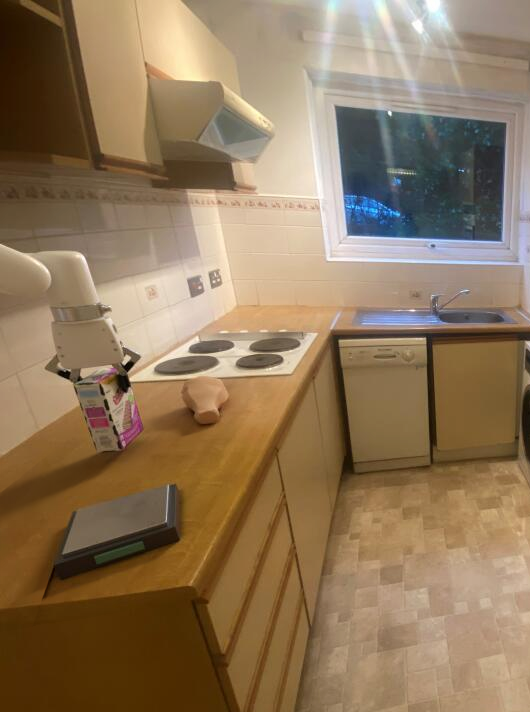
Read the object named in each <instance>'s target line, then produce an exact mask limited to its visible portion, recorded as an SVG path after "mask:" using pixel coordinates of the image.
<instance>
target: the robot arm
mask: <svg viewBox="0 0 530 712" xmlns="http://www.w3.org/2000/svg"><path fill="white" fill-rule="evenodd" d="M0 293H1V294H4V295H9V296H12V297H18V298H32V297H37V296H39V295H42V294H44V296H45V299H46V301H47V304H48V307H49V310H50V312H51V315H52V317H53V320H52V321H51V323H50V329H51V335H52V339H53V344H54V348H55V352H56V353H55V355H54V356H53V357H52V358H51V360H50V361H49V362H47V364H46V365H45V366H44V370H45V371H47V372H50V373H52V374H54V375H57V376H59V377H60V378H64V379H65V380H68V381H69V382H70V383H73V384H75V383H76V382H78V381H80V380H82V379H84V378H83V377H82V376H81V372H82V369H90V368H98V367H105V366H112V368H115V369H116V370H117V371H118V372H119V376H118V379H119V382H120V385H121V388H122V391H123V393H127V392H128V389H129V387H131V388H132V383H131V381H130V377H129V374H128V373H129V372H130V371H131V370H132V368H133V367H134V366H135V365H136V364H137V363H138V362H139V361H140V360H141V358H142V354H141V353H140V352H138V351H136V350H133V349H132V348H129V347H128V346H126V345H124V344H123V341H122V338H121V336H120V334H119V331H118V329H117V327H116V325H115V322H114V321H113V319H112V318H111V317H110V316H109V315H105V314H107V313H112V311H113V309H112V307H111V305H106V304H102V302H100V298H99V295H98V292H97V290H96V286H95V283H94V279H93V277H92V274H91V271H90V268H89V265H88V261H87V259H86V258H85V256H84V255H83V254H82V253H81V252H79V251H75V250H45V251H38V252H22V251H19V250H16V249H14V248H11V247H9V246H6V245H4V244H2V243H0ZM127 356H128V357H130V359H128V361H126V363H125V364H124V363H123V362H124V360H125V358H126V357H127ZM58 364H60V366H61V367H60V366H59V365H58ZM73 384H72V385H73Z"/></svg>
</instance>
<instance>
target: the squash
mask: <svg viewBox="0 0 530 712" xmlns="http://www.w3.org/2000/svg"><path fill="white" fill-rule="evenodd" d="M181 395H182V396H181V399H182V401H183V402H184V404H185V406H186V407H187V408H188V409H189V410H192V411H193V412H194V414H193V417H194V420H195V421H196V422H197V423H198V424H200V425H207V424H208V425H209V424H215V423H218V422H219V419H220V416H221V414H220V412H219V410H220V409H221V408H223V407H224V406H225V403H226V402H227V401H228V398H229V396H230V394H229V393H228V390H227V388H226V386H225V385H224V382H223V380H222V379H220V378H216V377H212V376H208V375H198V376H196V377H193V378H191V379H188V380H186V381H185V382H184V384H183V387H182V390H181Z"/></svg>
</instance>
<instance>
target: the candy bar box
mask: <svg viewBox="0 0 530 712" xmlns="http://www.w3.org/2000/svg"><path fill="white" fill-rule="evenodd" d="M118 376H119V372H118V371H117V370H116V369H115V368H114V367H105V368H102V367H101V368H99V369H98V370H96V371H94V372H92V373H91V374H89V375H88V376H85V377H84V378H83V379H82V380H80V381H78V382H76V383H75V384H72V386H73V390H74V392H75V395H76V398H77V401H78V403H79V406H80V409H81V412H82V415H83V417H84V420H85V423H86V426H87V428H88V431H89V435H90V437H91V441H92V442H93V445H94V449H95V451H96V454H107V453H118V452H123V451H124V450H125V449H126V448H127V447H128V446H129V445H130V444H131V443H132V442H133V441H134V440H135V439H136V438H137V437H138V436H139V435H140V434H141V433H142V432H143V431H144V430H145V428H144V424H143V422H142V418H141V416H140V412H139V409H138V406H137V402H136V399H135V396H134V395H135V394H134V392H133V388H132V386H131V387H129V389H128V392H127V393H123V391H122V388H121V385H120V382H119V379H118Z"/></svg>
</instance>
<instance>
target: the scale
mask: <svg viewBox="0 0 530 712" xmlns="http://www.w3.org/2000/svg"><path fill="white" fill-rule="evenodd" d="M168 485H169V487H170V489H169V509H168V525H167V526H164V527H161V528H158V529H155V530H151V531H148V532H145V533H142V534H139V535H135V536H132V537H129V538H126V539H123V540H120V541H116V542H113V543H110V544H107V545H104V546H100V547H97V548H94V549H91V550H88V551H84V552H81V553H78V554H75V555H72V556H68V557H65V558H64V557H63V555H62V553H63V550H64V547H65V544H66V541H67V538H68V535H69V533H70V530H71V527H72V524H73V521H74V518H75V515H76V512H77V510H75V511H74V510H73V511H72V513H71V515H70V519H69V521H68V524H67V526H66V529H65V532H64V535H63V537H62V541H61V543H60V546H59V549H58V552H57V554H56V556H55V559H54V563H53V567H54V569H55V571H56V573H57V575H58V576H59V579H60V580H64V579H68V578H70V577H74V576H76V575H80V574H83V573H86V572H89V571H91V570H95V569H98V568H101V567H103V566H107V565H110V564H113V563H116V562H119V561H121V560H125V559H128V558H131V557H134V556H138V555H140V554H143V553H146V552H150V551H152V550H155V549H158V548H161V547H164V546H168V545H170V544H173V543H176V542H179V541H181V493H180V490H179V488H178V485H177V483H174V484H168Z"/></svg>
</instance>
